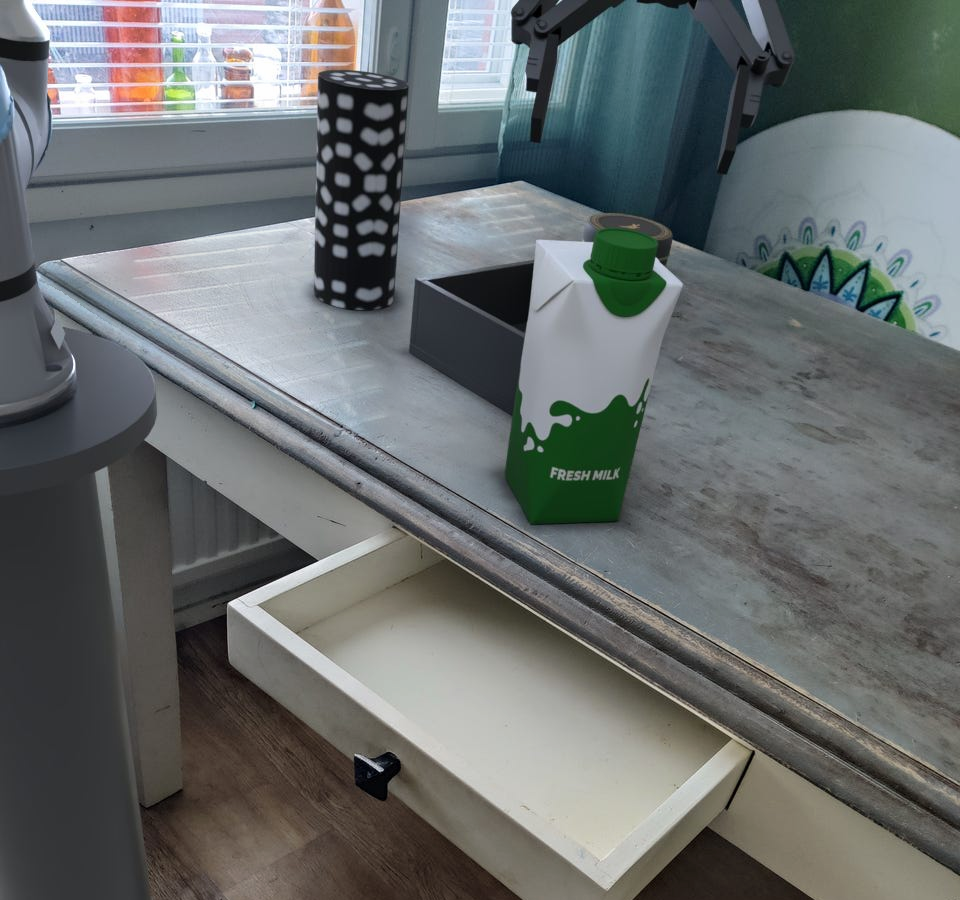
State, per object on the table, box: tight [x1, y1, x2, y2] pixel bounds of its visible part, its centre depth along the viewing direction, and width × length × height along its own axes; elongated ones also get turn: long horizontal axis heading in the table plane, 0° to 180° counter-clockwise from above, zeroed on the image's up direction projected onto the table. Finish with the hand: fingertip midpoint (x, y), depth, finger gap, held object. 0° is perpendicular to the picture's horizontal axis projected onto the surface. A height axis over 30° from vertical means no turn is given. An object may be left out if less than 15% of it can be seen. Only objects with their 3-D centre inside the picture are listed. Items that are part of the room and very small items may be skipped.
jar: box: [581, 212, 674, 268], centre depth 111 cm, size 10×10×8 cm
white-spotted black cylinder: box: [313, 69, 410, 311], centre depth 97 cm, size 8×8×20 cm
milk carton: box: [503, 228, 684, 525], centre depth 69 cm, size 9×9×20 cm
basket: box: [408, 259, 534, 417], centre depth 91 cm, size 16×16×7 cm
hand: (630, 147), depth 70 cm, fingers open, 13 cm apart
